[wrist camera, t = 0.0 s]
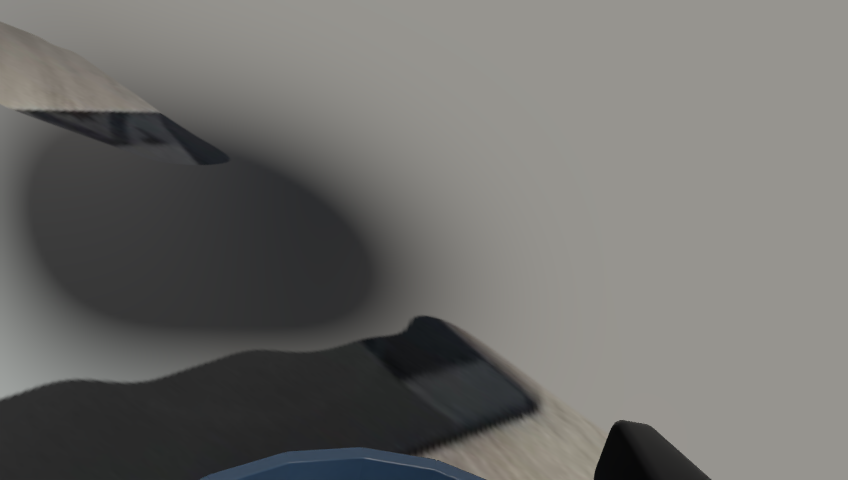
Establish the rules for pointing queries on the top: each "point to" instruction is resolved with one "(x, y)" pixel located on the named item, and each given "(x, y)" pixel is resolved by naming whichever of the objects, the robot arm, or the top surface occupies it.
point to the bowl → (343, 467)
